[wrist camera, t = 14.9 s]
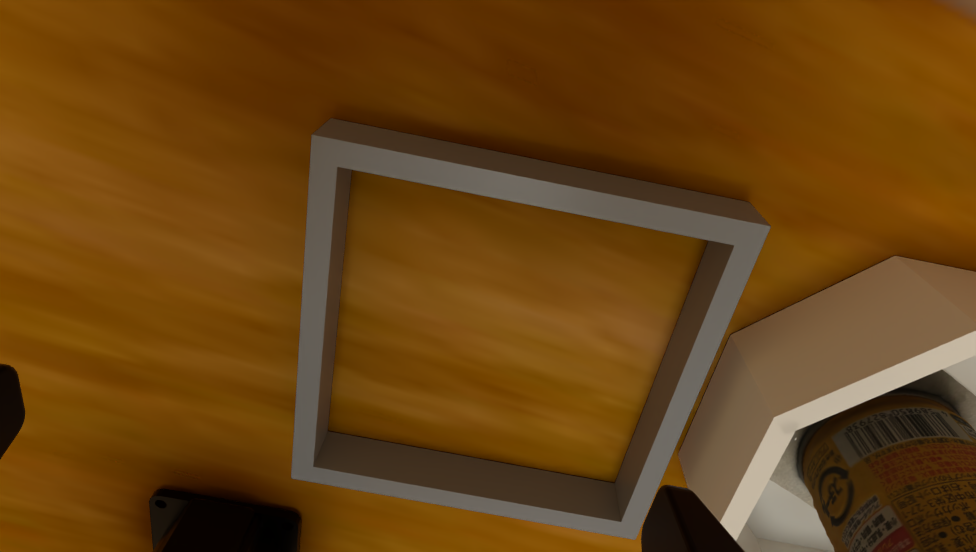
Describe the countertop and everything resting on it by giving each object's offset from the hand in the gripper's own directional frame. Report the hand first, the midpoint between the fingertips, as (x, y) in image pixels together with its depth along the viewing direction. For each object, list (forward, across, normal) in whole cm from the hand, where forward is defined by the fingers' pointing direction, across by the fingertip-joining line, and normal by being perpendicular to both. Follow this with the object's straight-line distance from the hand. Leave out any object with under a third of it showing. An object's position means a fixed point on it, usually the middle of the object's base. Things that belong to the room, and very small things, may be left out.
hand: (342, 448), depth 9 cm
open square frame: (+13, -3, +6) cm, 15 cm away
